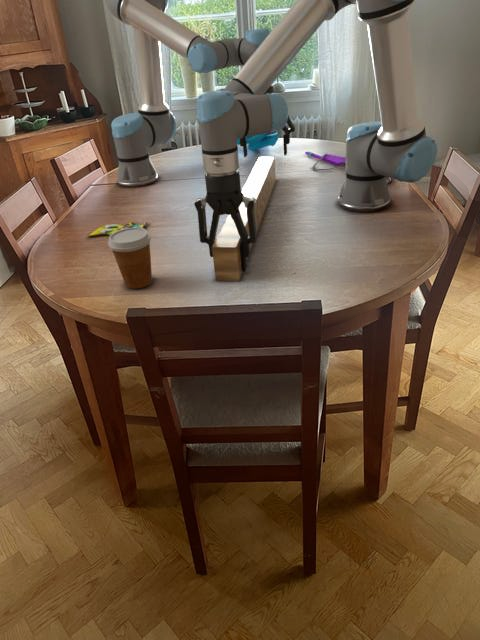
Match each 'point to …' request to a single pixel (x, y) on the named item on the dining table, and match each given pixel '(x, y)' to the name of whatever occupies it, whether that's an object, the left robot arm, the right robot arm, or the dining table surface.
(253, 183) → the post
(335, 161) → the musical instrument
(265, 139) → the toy
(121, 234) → the disposable coffee cup
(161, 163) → the dining table surface
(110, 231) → the toy
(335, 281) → the dining table surface
